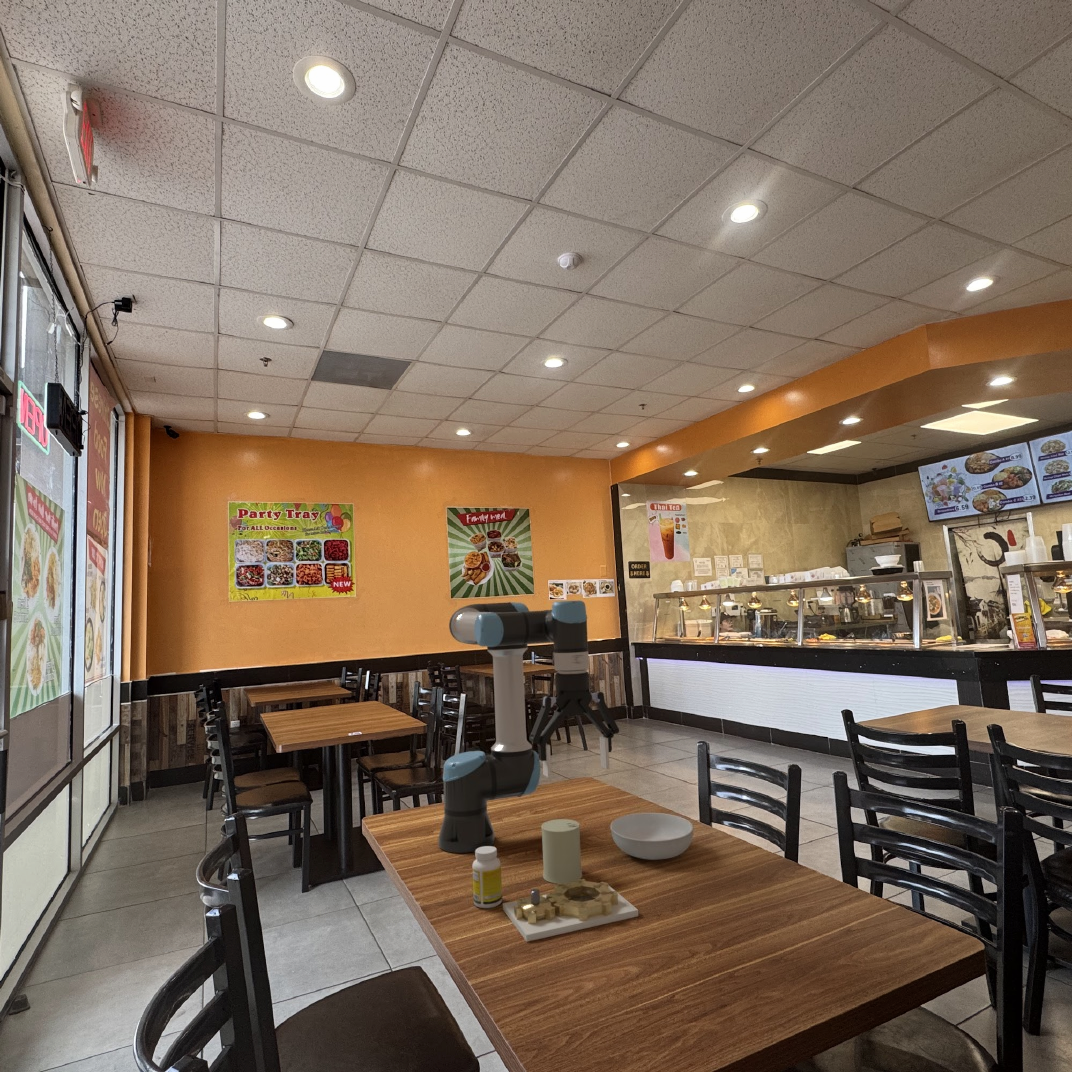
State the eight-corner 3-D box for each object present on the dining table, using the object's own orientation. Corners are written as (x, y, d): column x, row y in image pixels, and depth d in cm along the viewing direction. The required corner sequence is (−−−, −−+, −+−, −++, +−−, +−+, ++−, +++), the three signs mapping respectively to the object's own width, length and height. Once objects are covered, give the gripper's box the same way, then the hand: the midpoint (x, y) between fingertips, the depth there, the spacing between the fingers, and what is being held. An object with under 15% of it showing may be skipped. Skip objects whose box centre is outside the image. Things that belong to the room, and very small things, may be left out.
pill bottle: (506, 898, 145) (504, 845, 146) (495, 910, 139) (493, 855, 140) (480, 895, 147) (478, 843, 148) (468, 907, 141) (467, 853, 142)
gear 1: (509, 909, 137) (508, 887, 137) (548, 901, 140) (547, 879, 140) (522, 927, 129) (521, 903, 130) (563, 918, 132) (562, 894, 133)
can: (579, 885, 150) (576, 829, 152) (539, 883, 152) (537, 829, 153) (584, 869, 159) (582, 817, 161) (547, 867, 161) (544, 816, 162)
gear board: (503, 909, 140) (502, 903, 140) (605, 888, 148) (605, 882, 148) (526, 941, 126) (526, 935, 126) (638, 916, 134) (638, 909, 134)
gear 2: (538, 896, 142) (537, 887, 142) (598, 884, 147) (597, 875, 147) (563, 925, 129) (563, 914, 129) (629, 911, 134) (628, 900, 134)
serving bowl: (601, 864, 162) (600, 835, 163) (623, 836, 181) (622, 809, 182) (687, 873, 154) (685, 843, 155) (700, 842, 173) (699, 815, 174)
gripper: (523, 677, 137) (528, 783, 134) (630, 668, 145) (636, 768, 143) (512, 674, 144) (516, 775, 141) (615, 666, 152) (620, 761, 150)
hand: (576, 772), depth 142 cm, fingers open, 13 cm apart
